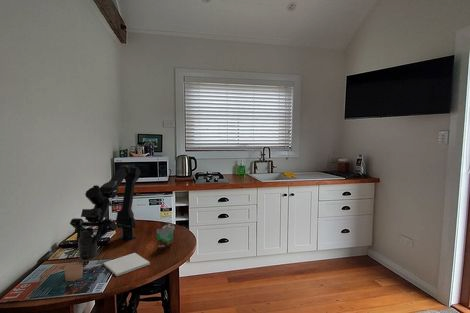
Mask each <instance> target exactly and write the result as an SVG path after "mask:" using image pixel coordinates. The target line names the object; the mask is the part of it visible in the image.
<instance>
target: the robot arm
mask: <svg viewBox="0 0 470 313" xmlns="http://www.w3.org/2000/svg"><path fill="white" fill-rule="evenodd" d="M140 175H141V170H140V168H139V167H138V166H129V165H120V166H119V167H118V170H117V171H116V172H115V173H114V175H113V176H112V178H110V180H109V181H107V182H105V183H103V184H102V185H101V186H99V185H93V186H92V187H91V188H89V189H88V190H86V191H85V194H84V195H85V198H87V200H88V201H89V202H90V203H91V204H92V205H94V206H93V208H91V209H90V208H88V209H87V208H82V210H81V215H80V217H81V218H79V217H78V218H77V217H74V218H72V219H71V220H70V222H69V224H70V225H71V226H72V227H73V229H75V230H76V243H77V244H78V239H79V237H80V236H81V235H80V231H81V230H82V229H85V228H87V227H96V228H97V231H96V233H95V238H94V240H93V244H95V243H96V242H97V243H98V241H100V239H101V238H103V237H104V236H105V235H106V234H108V233H110V232H112V231H116V230H117V229H118V228H119V229H121V236H119V237H118V238H119V239H120V240H122V241H127V240H132V239H134V238H135V239H136V236H135V235H134V229H133V228H136V227H137V222H138V221H137V220H136V218H135V214H134V212H133V209H132V206H133V200H134V193H135V188H136V187H135V185H136V183H137V181H138V180H139V178H140ZM123 181H125V183H124V184H125V185H124V192H123V198H122V204H121V205H122V206H121V209H120V210H118V211H117V212H116V219H115V220H113V219H112V218H111V219H110V218H108V219H107V216H108V214H107V212H108V209H109V207H112V206H113V203H112V201H111V200H110V199H115V198H117V195H118V193H119V186H120V185H121V184H122V182H123ZM82 218H84V219H85V221H84V219H82Z"/></svg>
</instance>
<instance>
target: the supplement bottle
mask: <svg viewBox="0 0 470 313" xmlns="http://www.w3.org/2000/svg"><path fill="white" fill-rule="evenodd" d="M80 235H81V236H80V237H79V239H78V243H77V244H78V245H77V246H78V256H79V260H81V261H89V260H93V259H95V258H96V257H97V256H98V241H97V242H96V243H95V244H93V240H94V238H95V235H96V233H95V231H94V228H93V227H85V229H82V230H81V231H80Z"/></svg>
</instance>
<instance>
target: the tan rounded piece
mask: <svg viewBox="0 0 470 313" xmlns="http://www.w3.org/2000/svg"><path fill="white" fill-rule="evenodd" d="M63 268H64V281H65V280H66V281H65V282H67V281H73V282H76V281H75V280H77V281H79V280H81V279H83V277H84V270H83V269H84V266H83V262H81V261H73V262H71V263H70V262H69V263H67V264H66V265H65V266H64V267H63ZM80 278H81V279H80ZM78 279H79V280H78Z"/></svg>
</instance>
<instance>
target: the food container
mask: <svg viewBox="0 0 470 313" xmlns="http://www.w3.org/2000/svg"><path fill="white" fill-rule="evenodd" d="M174 230H175V225H174V223H173V222H169V221H167V222H166V224H165V225H163V226H161V227H160V228H156V235H157V249H167V248H170V247H172V246H173V244H174V243H173V240H174V238H173V237H174Z"/></svg>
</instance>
